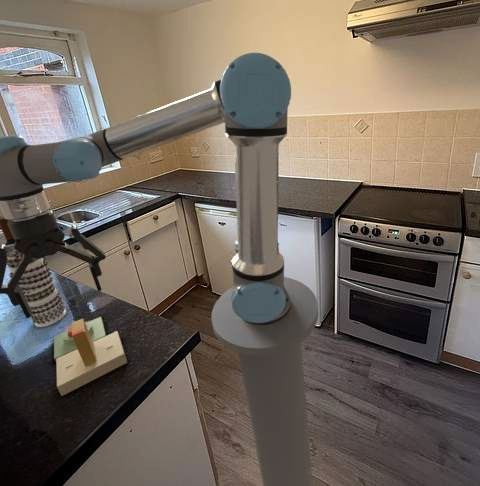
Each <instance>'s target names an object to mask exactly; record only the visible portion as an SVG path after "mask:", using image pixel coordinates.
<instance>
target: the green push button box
mask: <svg viewBox="0 0 480 486" xmlns="http://www.w3.org/2000/svg"><path fill="white" fill-rule="evenodd" d="M84 322H85V324H86V327H87V329H88V332H89V334H90V336H91V339H92V341H93V342H94V341H97V340H99V339H101V338H103V337H105V336H107V333H106V330H105V326H104V321H103V318H102V316H99V317H97V318H94V319H92V320H90V321H89V320H88V321H84ZM67 330H68V328H67V329H66V330H65V331H64V332H61V333H59V334H55V335H54V336H53V359H54V361H55V362H56V359H57V358H59V357H61V356H63V355H66V354H68V353H70V352H72V351H74V350H77V347H76V345H75V342H74V340H73V338H72V337H70V336H69V334H68V331H67Z"/></svg>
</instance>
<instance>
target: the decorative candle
mask: <svg viewBox="0 0 480 486" xmlns="http://www.w3.org/2000/svg"><path fill="white" fill-rule="evenodd" d="M23 255H24V254H23V253H21V252H18V251H17V250H14V251H13V252H12V255H11V256H8V261H7V268H8V269H9V272H10V273H9V275H8V276H9V278H10V279H11V277H12V276H13V274H14V272H15V270H16V268H17V267H18V265H19V263H20V261H21V260H22V257H23ZM48 264H49V262H48V261H46V257H43V258H41V259H35V258H32V259H31V261H30V263H29V265H28V266H27V268H26V270H25V271H24V273H23V275H22V277H21V279H20V280H19V282H18V284H17V286H16V287H18V285H19V286H20V288H21V290H22V292H23V294H24V296H25V298H26V300H27V302H28V304H29V306H30V308H31V310H32V312H31V317H30V318H31V321H32V323H33V324H34V325H35V327H36V328H43V327H48V326H51V325H53V324H55V323H57V322H59V321H60V320H62V319H63V318H64V317H65V315H67V309H66V306H65V305H64V303H65V302H64V301H63V300H62V297H61V296H60V295H61V293H59V291H58V290H57V288H56V287H55V285H54V278H53V277H52V272H51V271H50V267H48Z"/></svg>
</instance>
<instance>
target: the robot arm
mask: <svg viewBox="0 0 480 486" xmlns="http://www.w3.org/2000/svg"><path fill="white" fill-rule="evenodd" d="M291 99H292V85H291V80H290V78H289V75H288V73H287V71H286V69H285V68H284V66H282V64H281V63H280V62H279V61H278V60H277V59H275V58H274V57H272V56H270V55H268V54H265V53H262V52H249V53H244V54H242V55H239V56H238V57H236V58H235V59H233V60H231V62H230V63H229V64H228V65H227V67H225V69H224V72H223V74H222V77H221V78H220V79H219V80H216V81H213V84H212V86H211V88H209V89H207V90H204V91H201V92H199V93H196V94H193V95H191V96H188V97H186V98H182V99H179V100H177V101H174V102H171V103H169V104H167V105H164V106H161V107H159V108H157V109H154V110H150V111H149V112H146V113H143V114H141V115H137V116H135V117H133V118H130V119H127V120H125V121H122V122H119V123H117V124H114V125H112V126H109V127H107V128H103V129H101V130H98V131H95V132H93V133H92V132H91V133H90V134H87V135H83V136H79V137H74V138H69V139H64V140H60V141H57V142H48V143H41V144H28V143H27V142H26V140H25V138H24V136H22V135H19V134H15V135H14V134H11V135H3V136H0V211H1V213H2V215H3V216H2V217H4V218H5V219H7V220H9V221H8V223H7V224H8V227H9V229H10V231H11V233H12V235H13V237H14V240H15V244H11V245H5V244H3V243H2V244H0V295H1V294H2V295H4V294H5V295H7V297H8V299H9V301H10V303H11V305H12V306H13V307H17V306H20V308H21V310H22V312H23V315H24V316H25V319H30V318H31V312H32V310H31V308H30V306H29V304H28V302H27V300H26V298H25V296H24V294H23V292H22V290H21V288H20V286H18V287H16V286H17V284H18V282H19V280H20V279H21V277H22V275H23V273H24V271H25V270H26V268H27V266H28V265H29V263H30V261H31V259H32V258H35V259H41V258H43V257H44V258H46V256H49V257H50V256H53V255H56V253H58V252H60V253H62V254H66V255H69V256H71V257H73V258H76V259H77V260H80V261H83V262H85V263H87V264H88V267H89V271H90V274H91V276H92V279H93V282H94V284H95V287H96V289H97V292H101V291H102V290H103V289H102V286H101V283H100V280H99V278H98V277H100V276H102V275H103V273H102V270H101V266H100V262H101V261H105V259H106V254H105V252H104V251H103V250H102V249H100V248H99V247H98V246H97V245H95V243H93V242H92V241H91V240H90V239H88V238H87V237H86V236H85V235H84V234H82V233H81V231H80V230H79V227H78V226H77V225H76V224H73V225H71V226H70V227H69V228H67V229H63V230H62V229H61V228H60V226H59V224H58V222H57V219H56V216H55V214H54V212H53V210H50V209H51V208H52V206H51V204H50V201H49V198H48V195H47V193H46V190H45V189H44V186H43V185H49V184H61V183H74V182H75V183H79V182H80V183H81V182H82V181H88V180H93V179H96V178H98V176H99V175H100V172H101V171H102V168H104V167H106V166H110V165H113V164H115V163H117V162H120V161H123V160H126V159H128V158H131V157H134V156H136V155H138V154H139V155H140V154H142V153H145V152H147V151H150V150H153V149H155V148H158V147H161V146H165V145H166V144H169V143H173V142H174V141H177V140H180V139H183V138H186V137H189V136H191V135H195V134H197V133H199V132H202V131H205V130H208V129H211V128H213V127H216V126H219V125H222V124H224V132H225V136H226V137H227V138H228V139H229V140H230V141H231V142H232V143H233V149H234V152H233V153H234V174H235V175H234V177H235V197H236V198H235V200H236V202H235V203H236V222H237V223H236V225H237V238H236V240H234V241H235V242H234V251H235V254H234V256H233V257H232V259H231V268H232V269H231V270H232V273H231V274H232V287H233V293H232V296H231V301H232V308H233V310H234V312H235V313H236V314H237V316H239V317H240V318H242V319H244V320H245V321H247V322H249V323H251V324H256V325H266V324H271V323H274V322H277V321H279V320H281V319H282V318H283V317H285V316H286V315H287V313H288V312H289V310H290V298H289V295H288V293H287V291H286V289H285V287H284V277H285V257H284V256H283V254H282V253H281V252H280V249H279V247H280V246H279V245H280V243H279V239H278V238H279V230H278V229H279V170H280V169H279V167H280V166H279V164H280V163H279V160H280V159H279V158H280V143H281V142H283V140H284V139H285V138H286V137H287V136H288V115H289V113H288V108H289V106H290V103H291ZM65 236H66V237H69V238H70V239H75V240H76V241H77V242H78V244H80V245H82V247H84V248H85V249H87V250H88V251H89V252H91V253H92V254H93V255H92V254H90V253H88V252H85V251H84V250H81V249H79V248H77V247H74V246H72V245H70V244H68V243H67V242H65V241H64V239H65ZM14 250H17V251H18V252H21V253H23V254H24V255H23V257H22V260H21V261H20V263H19V265H18V267H17V268H16V270H15V272H14V274H13V276H12V277H11V278H10V279H9V281H8V283H7V284H4V281H5V274H6V269H7V267H8V264H7V261H8V256H11V255H12V252H13V251H14Z"/></svg>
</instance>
